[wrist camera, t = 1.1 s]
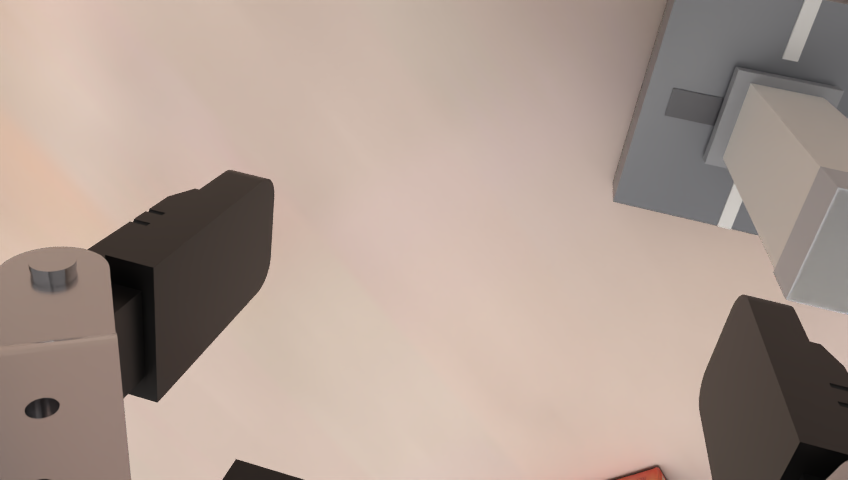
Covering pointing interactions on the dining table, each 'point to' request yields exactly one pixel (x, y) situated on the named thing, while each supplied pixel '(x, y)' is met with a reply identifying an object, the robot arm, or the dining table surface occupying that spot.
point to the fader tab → (790, 178)
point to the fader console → (718, 95)
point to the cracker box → (646, 475)
